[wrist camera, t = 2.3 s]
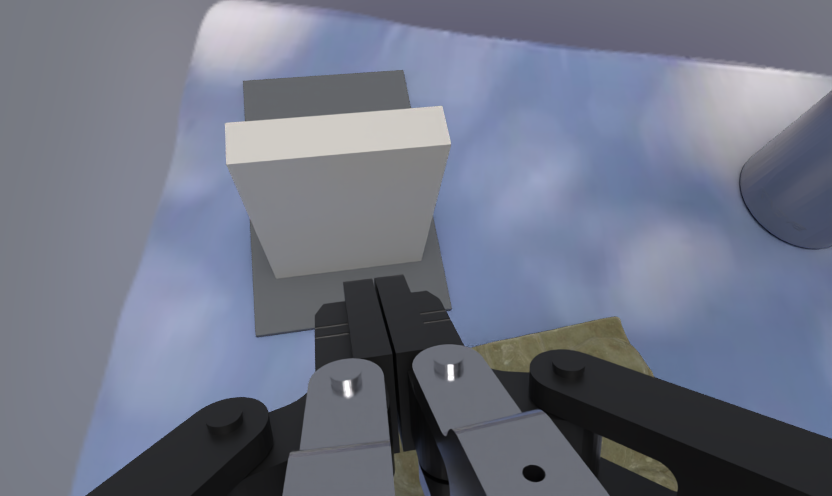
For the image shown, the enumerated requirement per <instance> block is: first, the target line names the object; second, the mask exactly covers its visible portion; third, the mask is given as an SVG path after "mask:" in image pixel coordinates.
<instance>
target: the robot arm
mask: <svg viewBox="0 0 832 496" xmlns="http://www.w3.org/2000/svg"><path fill="white" fill-rule="evenodd" d="M740 185H741V192H742V195H743V198H744V200H745V203H746V205H747V207H748V208H749V210H750V212H751V213H752V215H753V216H754V217H755V218H756V219H757V220H758V222H759V223H760V224H761V225H762V226H763V227H765V228H766V229H767V230H768V231H769V232H770V233H772V234H773V235H775V236H777V237H778V238H780V239H781V240H783V241H786V242H788V243H790V244H793V245H796V246H800V247H804V248H813V249H820V248H826V247H830V246H832V91H830V92H829V93H828V94H827V95H826V96H824V97H823V98H822V99H821V100H820V101H818V102H817V103H816V104H815V105H814V106H812V107H811V108H810V109H809V110H808V111H806V112H805V113H804V114H803V115H802V116H800V117H799V118H798V119H797V120H796V121H794V122H793V123H792V124H791V125H790V126H788V127H787V128H786V129H785V130H783V131H782V132H781V133H780V134H779V135H777V136H776V137H775V138H774V139H773V140H771V141H770V142H769V143H768V144H767V145H765V146H764V147H763V148H762V149H761V150H759V151H758V152H757V153H756V154H755V155H753V156H752V157H751V158H750V159H749V160H748V161H747V163H746V164H745V165H744V167H743V170H742V172H741V180H740ZM343 289H344V298H345V301H342V302H334V303H327V304H323V305H322V306H321V308H320V309H319V310H318V312H317V313H316V314H315V373H314V374H313V375H312V376H311V378H310V380H309V383H308V391H307V393H306V394H305V395H304V396H303V397H301V398H300V399H298V400H297V401H295V402H293V403H291V404H289V405H287V406H285V407H282V408H280V409H277V410H274V411H272V412H269V413H268V410H267V407H266V406H265V405H264V404H263V403H262V402H260V401H258V400H256V399H252V398H246V397H236V398H229V399H224V400H221V401H218V402H215V403H212V404H210V405H208V406H206V407H204V408H202V409H201V410H199V411H198V412H196V413H195V414H194V415H192V416H191V417H190V418H188V419H187V420H186V421H184V422H183V423H182V424H180V425H179V426H178V427H176V428H175V429H174V430H172V431H171V432H170V433H168V434H167V435H166V436H164V437H163V438H162V439H160V440H159V441H158V442H156V443H155V444H154V445H152V446H151V447H150V448H148V449H147V450H146V451H144V452H143V453H142V454H140V455H139V456H138V457H136V458H135V459H134V460H132V461H131V462H130V463H129V464H127V465H126V466H125V467H123V468H122V469H121V470H119V471H118V472H117V473H115V474H114V475H113V476H111V477H110V478H109V479H107V480H106V481H105V482H103V483H102V484H101V485H99V486H98V487H97V488H95V489H94V490H93V491H91V492H90V493H89V494H87V495H86V496H395V488H394V478H393V477H394V474H395V460H394V454H396V453H400V444H399V435H400V439H401V444H402V448H403V452H406V451H412V450H416V452H417V456H418V464H419V480H420V484H421V487H422V490H423V492H424V495H425V496H832V439H831V438H828V437H825V436H822V435H819V434H816V433H813V432H810V431H808V430H805V429H802V428H799V427H796V426H793V425H790V424H787V423H784V422H782V421H779V420H776V419H773V418H770V417H767V416H764V415H761V414H759V413H756V412H753V411H750V410H747V409H744V408H741V407H738V406H736V405H733V404H730V403H727V402H724V401H721V400H718V399H715V398H712V397H710V396H707V395H704V394H701V393H698V392H695V391H692V390H689V389H687V388H684V387H681V386H678V385H675V384H672V383H669V382H666V381H664V380H661V379H658V378H655V377H652V376H649V375H646V374H643V373H641V372H638V371H635V370H632V369H629V368H626V367H623V366H620V365H617V364H615V363H612V362H609V361H606V360H603V359H600V358H597V357H594V356H592V355H589V354H586V353H583V352H579V351H575V350H567V349H556V350H549V351H545V352H542V353H540V354H538V355H537V356H535V357H534V358H533V359H532V361H531V363H530V369H529V372H511V371H501V370H495V369H492V368H490V367H489V365H488V364H487V362H486V361H485V360H484V358H483V357H482V356H481V355H480V354H479V353H478V352H477V351H475V350H473V349H471V348H469V347H465V346H464V345H463V343H462V341H461V339H460V337H459V335H458V333H457V331H456V329H455V327H454V325H453V323H452V321H451V320H450V318H449V316H448V314H447V312H446V311H445V308H444V306H443V304H442V302H441V300H440V299H439V298H438V297H436V296H435V295H433V294H431V293H430V292H428V291H427V290H426V291H419V292H411V291H410V289H409V286H408V284H407V282H406V279H405V277H404V275H403V274H401V275H393V276H385V277H377V278H374V283H373V280H372V278H369V279H361V280H353V281H345V282H343ZM602 437H605V438H607V439H609V440H612V441H614V442H616V443H618V444H621V445H623V446H625V447H627V448H630V449H632V450H634V451H636V452H639V453H641V454H643V455H645V456H648V457H650V458H652V459H654V460H657V461H658V462H660V463H662V464H663V465H665V466H666V467H667V468H668V469H669V470H670V471H671V472H672V474H673V475H674V477H675V478H676V481H677V485H678V490H677V491H673V490H671V489H669V488H666V487H664V486H662V485H660V484H658V483H656V482H654V481H651V480H649V479H647V478H645V477H643V476H641V475H639V474H637V473H634V472H632V471H630V470H628V469H626V468H624V467H622V466H619V465H617V464H615V463H613V462H611V461H609V460H607V459H605V458H602V457H600V455H601V445H602Z"/></svg>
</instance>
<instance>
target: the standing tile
mask: <svg viewBox="0 0 832 496" xmlns="http://www.w3.org/2000/svg"><path fill="white" fill-rule="evenodd" d="M225 137H226V165H227V167H228V169H229V172H230V174H231V176H232V179H233V181H234V183H235V185H236V188H237V190H238V192H239V195H240V197H241V199H242V201H243V204H244V206H245V208H246V211H247V213H248V215H249V217H250V220H251V222H252V224H253V227H254V229H255V231H256V234H257V236H258V238H259V240H260V243H261V245H262V247H263V250H264V252H265V254H266V256H267V259H268V261H269V263H270V266H271V268H272V270H273V272H274V275H275V277H276V279H278V278H286V277H294V276H302V275H310V274H318V273H327V272H335V271H343V270H351V269H359V268H367V267H375V266H383V265H391V264H399V263H407V262H416V261H421V260H422V256H423V252H424V248H425V244H426V240H427V236H428V232H429V228H430V225H431V221H432V217H433V213H434V209H435V205H436V201H437V197H438V194H439V190H440V186H441V182H442V178H443V174H444V170H445V166H446V162H447V159H448V155H449V151H450V147H451V141H450V137H449V133H448V128H447V124H446V120H445V116H444V111H443V107H442V106H436V107H423V108H410V109H398V110H385V111H372V112H359V113H347V114H334V115H321V116H309V117H296V118H283V119H271V120H258V121H245V122H232V123H225Z"/></svg>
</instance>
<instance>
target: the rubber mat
mask: <svg viewBox="0 0 832 496" xmlns="http://www.w3.org/2000/svg"><path fill="white" fill-rule="evenodd" d="M243 89H244V109H245V121H258V120H271V119H283V118H296V117H309V116H321V115H334V114H347V113H359V112H372V111H385V110H398V109H410V108H411V106H410V101H409V96H408V92H407V87H406V82H405V77H404V72H403V70H397V71H382V72H367V73H353V74H338V75H323V76H308V77H293V78H278V79H264V80H249V81H243ZM250 231H251V251H252V271H253V291H254V312H255V332H256V337H263V336H270V335H277V334H284V333H291V332H299V331H306V330H313V329H315V314H316V313H317V312H318V310H319V309H320V308H321V306H322V305H323V304H327V303H334V302H342V301H345V298H344V289H343V282H345V281H353V280H361V279H369V278H372V280H373V283H374V278H377V277H385V276H393V275H401V274H403V275H404V277H405V279H406V282H407V284H408V286H409V289H410V291H411V292H419V291H426V290H427V291H428V292H430V293H431V294H433V295H435V296H436V297H438V298H439V299H440V300H441V302H442V304H443V306H444V308H445V311H449V310H451V309H452V307H451V302H450V297H449V293H448V288H447V283H446V278H445V273H444V268H443V263H442V258H441V253H440V248H439V243H438V239H437V234H436V229H435V224H434V219H433V217H432V221H431V225H430V228H429V232H428V236H427V240H426V244H425V248H424V252H423V256H422V260H421V261H416V262H407V263H399V264H391V265H383V266H375V267H367V268H359V269H351V270H343V271H335V272H327V273H318V274H310V275H302V276H294V277H286V278H278V279H276V277H275V275H274V272H273V270H272V268H271V266H270V263H269V261H268V259H267V256H266V254H265V252H264V250H263V247H262V245H261V243H260V240H259V238H258V236H257V234H256V231H255V229H254V227H253V224H252V222H251V220H250Z"/></svg>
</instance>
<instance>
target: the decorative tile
mask: <svg viewBox="0 0 832 496" xmlns="http://www.w3.org/2000/svg"><path fill="white" fill-rule="evenodd" d="M471 349H473V350H475V351H477V352H478V353H479V354H480V355H481V356H482V357H483V358H484V360H485V361H486V362H487V364H488V365H489V367H490V368H492V369H495V370H501V371H511V372H529V369H530V363H531V361H532V359H533V358H534V357H535V356H537V355H538V354H540V353H542V352H545V351H549V350H556V349H567V350H575V351H579V352H583V353H586V354H589V355H592V356H594V357H597V358H600V359H603V360H606V361H609V362H612V363H615V364H617V365H620V366H623V367H626V368H629V369H632V370H635V371H638V372H641V373H643V374H646V375H649V376H652V377H654V376H653V373H652V371H651V370H650V368H649V367H648V366H647V364H646V363H645V361H644V360H643V358H642V357H641V355H640V354H639V352H638V351H637V350H636V349H635V348H634V347H633V346H632V345H631V344H630V343H629V341H628V339H627V337H626V334H625V332H624V330H623V328H622V325H621V320H620V318H618V317H609V318H603V319H598V320H594V321H589V322H585V323H580V324H576V325H571V326H566V327H562V328H558V329H553V330H549V331H544V332H539V333H534V334H529V335H524V336H520V337H515V338H511V339H505V340H500V341H496V342H492V343H488V344H484V345H480V346H476V347H472V348H471ZM399 444H400V453H396V454H394V460H395V474H394V477H393V478H394V488H395V496H425V495H424V492H423V490H422V487H421V484H420V480H419V464H418V456H417V452H416V450H412V451H406V452H403V448H402V444H401V439H400V435H399ZM600 457H602V458H605V459H607V460H609V461H611V462H613V463H615V464H617V465H619V466H622V467H624V468H626V469H628V470H630V471H632V472H634V473H637V474H639V475H641V476H643V477H645V478H647V479H649V480H651V481H654V482H656V483H658V484H660V485H662V486H664V487H666V488H669V489H671V490H673V491H677V490H678V485H677V481H676V478H675V477H674V475H673V474H672V472H671V471H670V470H669V469H668V468H667V467H666V466H665V465H663V464H662V463H660V462H658V461H657V460H654V459H652V458H650V457H648V456H645V455H643V454H641V453H639V452H636V451H634V450H632V449H630V448H627V447H625V446H623V445H621V444H618V443H616V442H614V441H612V440H609V439H607V438H605V437H602V445H601V455H600Z"/></svg>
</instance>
